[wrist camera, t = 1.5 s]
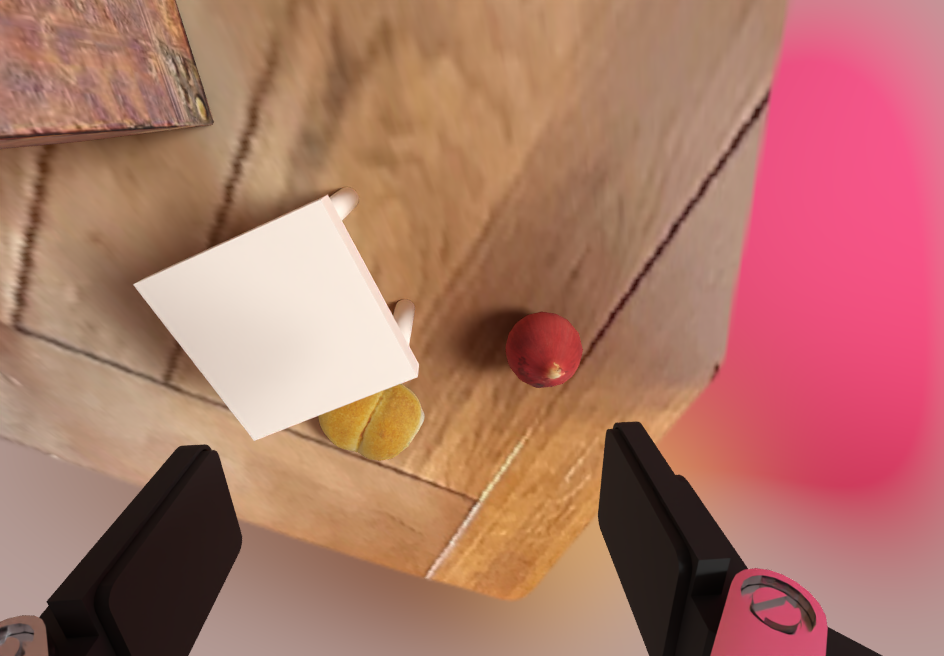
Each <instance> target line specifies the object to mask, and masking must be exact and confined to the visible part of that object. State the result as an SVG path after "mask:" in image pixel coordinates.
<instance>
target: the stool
mask: <svg viewBox="0 0 944 656" xmlns="http://www.w3.org/2000/svg"><path fill="white" fill-rule="evenodd" d="M358 202H359V196H358V194H357V192H356V191H355V190H354V189H352V188H350V187H344V188H341V189H340V190H339V191H337V192H336V193H335V194H333V195H332V196H330V197H329V196H328V195H326V196H323V197H321V198H319V199H317V200H315V201H312V202H310V203H308V204H306V205H304V206H301V207H299V208H297V209H295V210H293V211H290V212H288V213H286V214H284V215H282V216H279V217H277V218H275V219H273V220H271V221H268V222H266V223H264V224H262V225H260V226H257V227H255V228H253V229H251V230H248V231H246V232H244V233H242V234H240V235H237V236H235V237H233V238H231V239H229V240H226V241H224V242H222V243H220V244H218V245H215V246H213V247H211V248H209V249H207V250H204V251H202V252H200V253H198V254H196V255H193V256H191V257H189V258H187V259H185V260H182V261H180V262H178V263H176V264H174V265H171V266H169V267H167V268H165V269H163V270H160V271H158V272H156V273H154V274H152V275H149V276H147V277H146V278H144V279H142V280H140V281H138V282H137V283H135V284H133V285H134V286H135V288H136V289H137V290H138V291H139V293H140V294H141V295H142V297H143V298H144V299H145V300H146V302H147V303H148V304H149V306H150V307H151V308H152V310H153V311H154V312H155V313H156V315H157V316H158V317H159V319H160V320H161V321H162V322H163V324H164V325H165V326H166V328H167V329H168V330H169V331H170V333H171V334H172V335H173V337H174V338H175V339H176V340H177V342H178V343H179V344H180V346H181V347H182V348H183V350H184V351H185V352H186V353H187V355H188V356H189V357H190V359H191V360H192V361H193V362H194V364H195V365H196V366H197V368H198V369H199V370H200V371H201V373H202V374H203V375H204V377H205V378H206V379H207V380H208V382H209V383H210V384H211V386H212V387H213V388H214V389H215V391H216V392H217V393H218V395H219V396H220V397H221V399H222V400H223V401H224V402H225V404H226V405H227V406H228V408H229V409H230V410H231V411H232V413H233V414H234V415H235V417H236V418H237V419H238V420H239V422H240V423H241V424H242V426H243V427H244V428H245V429H246V431H247V432H248V433H249V435H250V436H251V437H252V439H253V440H254V441H255V440H257V439H260V438H262V437H265V436H267V435H270V434H273V433H275V432H278V431H280V430H283V429H285V428H288V427H291V426H293V425H296V424H298V423H301V422H303V421H306V420H309V419H311V418H314V417H316V416H319V415H321V414H324V413H326V412H329V411H332V410H334V409H337V408H339V407H342V406H344V405H347V404H350V403H352V402H355V401H357V400H360V399H362V398H365V397H367V396H370V395H373V394H375V393H378V392H380V391H383V390H385V389H388V388H391V387H393V386H396V385H398V384H401V383H403V382H406V381H409V380H411V379H414V378H416V377H418V369H419V364H418V362H417V360H416V358H415V356H414V354H413V353H412V351H411V349H410V347H409V342H410V336H411V330H412V324H413V318H414V312H415V306H414V304H413V302H411V301H410V300H407V299H402V300H400V301H398V302H397V304H396V306H395V310H394V314H393V315H392V313H391V312H390V310H389V308H388V306H387V304H386V302H385V300H384V299H383V297H382V295H381V293H380V291H379V289H378V287H377V286H376V284H375V282H374V280H373V278H372V276H371V274H370V272H369V271H368V269H367V267H366V265H365V263H364V261H363V259H362V258H361V256H360V254H359V252H358V250H357V248H356V246H355V244H354V243H353V241H352V239H351V237H350V235H349V233H348V231H347V230H346V228H345V226H344V224H343V222H342V220H343V219H344V218H345V217H346V216H347V215H348V214H349V213H350V212H351V211H352V210H353V209H354V208H355V207H356V206H357V204H358Z"/></svg>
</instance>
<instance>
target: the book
mask: <svg viewBox="0 0 944 656" xmlns="http://www.w3.org/2000/svg"><path fill="white" fill-rule="evenodd" d="M213 123H214V120H213V117H212V114H211V111H210V108H209V105H208V101H207V98H206V95H205V92H204V89H203V86H202V83H201V79H200V76H199V73H198V70H197V67H196V64H195V60H194V57H193V54H192V51H191V48H190V45H189V42H188V38H187V35H186V32H185V29H184V26H183V23H182V19H181V16H180V13H179V10H178V7H177V4H176V1H175V0H0V149H3V148H14V147H25V146H36V145H47V144H58V143H70V142H81V141H88V140H96V139H104V138H112V137H119V136H127V135H135V134H143V133H151V132H158V131H166V130H174V129H182V128H190V127H197V126H205V125H213Z"/></svg>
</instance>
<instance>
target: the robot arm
mask: <svg viewBox="0 0 944 656" xmlns="http://www.w3.org/2000/svg"><path fill="white" fill-rule="evenodd" d="M598 520H599V526H600V529H601V532H602V535H603V537H604V540H605V542H606V545H607V547H608V550H609V553H610V555H611V558H612V561H613V563H614V566H615V568H616V571H617V573H618V576H619V578H620V581H621V584H622V586H623V589H624V592H625V594H626V597H627V599H628V602H629V604H630V607H631V610H632V612H633V615H634V617H635V620H636V622H637V625H638V628H639V630H640V633H641V635H642V638H643V641H644V643H645V646H646V648H647V651H648V654H649V656H882V655H880V654H878V653H876V652H874V651H872V650H871V649H869V648H867V647H865V646H863V645H861V644H859V643H857V642H855V641H853V640H852V639H850V638H848V637H846V636H844V635H842V634H840V633H838V632H836V631H834V630H833V629H831V628H829V627H828V626H827V619H826V615H825V613H824V611H823V609H822V607H821V605H820V604H819V602H818V601H817V600H816V599H815V598H814V597H813V596H812V594H811V593H810V592H809V591H807V590H806V589H805V588H803V587H802V586H801V585H800V584H798V583H797V582H796V581H794V580H792V579H790V578H788V577H786V576H784V575H783V574H780V573H777V572H774V571H771V570H767V569H759V568H752V569H748V568H747V566H746V565H745V564H744V562H743V561H742V559H741V558H740V556H739V555H738V554H737V552H736V551H735V549H734V548H733V546H732V545H731V543H730V542H729V540H728V539H727V537H726V536H725V535H724V533H723V532H722V530H721V529H720V527H719V526H718V524H717V523H716V522H715V520H714V519H713V517H712V516H711V514H710V513H709V511H708V510H707V508H706V507H705V506H704V504H703V503H702V501H701V500H700V498H699V497H698V495H697V494H696V492H695V491H694V490H693V488H692V487H691V485H690V484H689V482H688V481H687V480H686V479H685V478H684V477H683V476H681V475H675V474H674V472H673V471H672V470H671V468H670V466H669V465H668V463H667V462H666V460H665V459H664V457H663V456H662V454H661V453H660V451H659V450H658V448H657V447H656V445H655V444H654V442H653V441H652V439H651V438H650V436H649V435H648V433H647V432H646V430H645V429H644V427H643V426H642V424H641V423H640V422H621V423H615V424H614V426H613V429H608V430H607V431H606V438H605V448H604V458H603V468H602V479H601V489H600V499H599V509H598ZM241 545H242V535H241V531H240V527H239V524H238V520H237V517H236V513H235V510H234V506H233V503H232V499H231V496H230V492H229V489H228V485H227V482H226V478H225V475H224V472H223V468H222V465H221V461H220V458H219V455H218V453H217V451H215V450H211V448H210V447H209V446H208V445H187V446H180V447H178V448H177V449H176V450H175V451H174V452H173V454H172V455H171V456H170V457H169V458H168V459H167V461H166V462H165V463H164V464H163V465H162V466H161V468H160V469H159V470H158V471H157V472H156V474H155V475H154V476H153V477H152V478H151V479H150V481H149V482H148V483H147V484H146V485H145V486H144V488H143V489H142V490H141V491H140V492H139V494H138V495H137V496H136V497H135V498H134V499H133V501H132V502H131V503H130V504H129V505H128V506H127V508H126V509H125V510H124V511H123V512H122V514H121V515H120V516H119V517H118V518H117V519H116V521H115V522H114V523H113V524H112V525H111V527H110V528H109V529H108V530H107V531H106V532H105V533H104V535H103V536H102V537H101V538H100V539H99V541H98V542H97V543H96V544H95V545H94V546H93V548H92V549H91V550H90V551H89V552H88V554H87V555H86V556H85V557H84V558H83V559H82V561H81V562H80V563H79V564H78V565H77V566H76V568H75V569H74V570H73V571H72V572H71V574H70V575H69V576H68V577H67V578H66V579H65V581H64V582H63V583H62V584H61V585H60V587H59V588H58V589H57V590H56V591H55V592H54V593H53V595H52V596H51V597H50V598H49V599H48V601H47V603H48V605H49V606H48V607H47V608H46V610H45V611H44V612H43V613H42V614H41V616H40V617H39V618H38V617H36V616H26V615H25V616H24V615H22V616H18V617H13V618H9V619H6V620H3V621H1V622H0V656H188V655H189V653H190V651H191V649H192V647H193V645H194V643H195V641H196V639H197V637H198V635H199V633H200V631H201V629H202V627H203V624H204V622H205V621H206V619H207V617H208V615H209V613H210V611H211V609H212V606H213V605H214V602H215V601H216V598H217V596H218V594H219V592H220V590H221V588H222V586H223V584H224V582H225V580H226V578H227V576H228V574H229V572H230V570H231V568H232V566H233V564H234V562H235V560H236V558H237V556H238V554H239V551H240V549H241Z"/></svg>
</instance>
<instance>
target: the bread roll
mask: <svg viewBox="0 0 944 656" xmlns="http://www.w3.org/2000/svg"><path fill="white" fill-rule="evenodd" d="M318 419H319V424H320V426H321V428H322V430H323V432H324V433H325V435H326V436H327V437H328V439H329V440H330V441H331V442H332V443H333V444H334V445H336V446H338V447H340V448H342V449H345V450H351V451H355V452H358V453H360V454H361V455H363V456H364V457H366V458H369V459H373V460H378V461H380V460H386V459H391V458H393V457H395V456H397V455H398V454H399V453H400V452H402V451H403V450H404V449H405V448H406V447H408V446H409V444H410V442H411V441H412V440H413V438H414V436H415V435H416V434H417V432H418V431H419V429H420V427H421V425H422V423H423V421H424V412H423V410H422V408H421V405H420V402H419V400H418V398H417V397H416V395H415V394H414V393H413V392H412V391H411V390H409V389H408V388H407V387H405V386H404V385H402V384H398V385H396V386H393V387H391V388H388V389H385V390H383V391H380V392H378V393H375V394H373V395H370V396H367V397H365V398H362V399H360V400H357V401H355V402H352V403H350V404H347V405H344V406H342V407H339V408H337V409H334V410H332V411H329V412H326V413H324V414H321V415H319V416H318Z"/></svg>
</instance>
